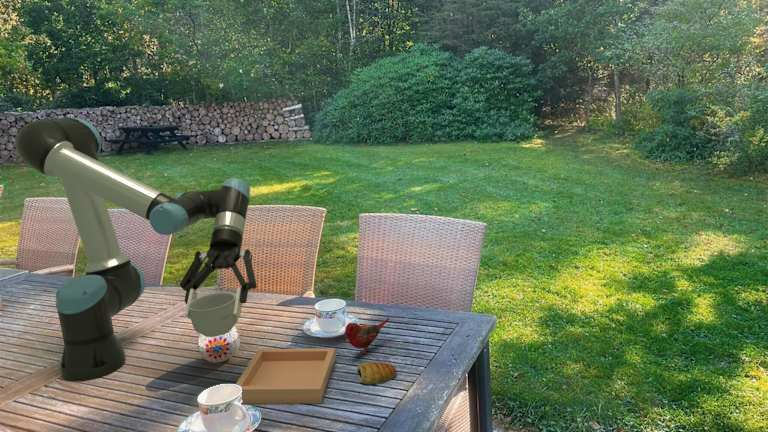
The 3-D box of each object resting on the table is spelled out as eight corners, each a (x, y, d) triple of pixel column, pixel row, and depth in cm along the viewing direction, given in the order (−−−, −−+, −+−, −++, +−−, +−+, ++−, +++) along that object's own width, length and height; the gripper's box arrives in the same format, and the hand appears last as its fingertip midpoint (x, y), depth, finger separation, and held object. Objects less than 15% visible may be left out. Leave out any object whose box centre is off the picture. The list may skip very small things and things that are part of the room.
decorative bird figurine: (341, 361, 145) (339, 325, 143) (386, 337, 158) (384, 303, 156) (350, 364, 143) (347, 327, 141) (394, 339, 156) (392, 305, 154)
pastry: (392, 367, 141) (391, 353, 140) (400, 380, 135) (399, 366, 134) (355, 374, 139) (354, 360, 138) (362, 388, 132) (361, 373, 131)
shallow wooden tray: (233, 403, 128) (232, 389, 127) (259, 361, 147) (258, 349, 147) (321, 403, 126) (320, 389, 125) (335, 360, 146) (334, 348, 145)
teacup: (229, 341, 127) (225, 308, 126) (183, 341, 129) (178, 308, 127) (250, 316, 141) (247, 286, 139) (209, 317, 142) (205, 287, 140)
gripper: (276, 239, 145) (266, 321, 134) (189, 243, 147) (171, 323, 136) (268, 224, 139) (256, 308, 127) (177, 228, 141) (157, 311, 129)
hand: (212, 316), depth 131 cm, fingers closed on teacup, 11 cm apart
